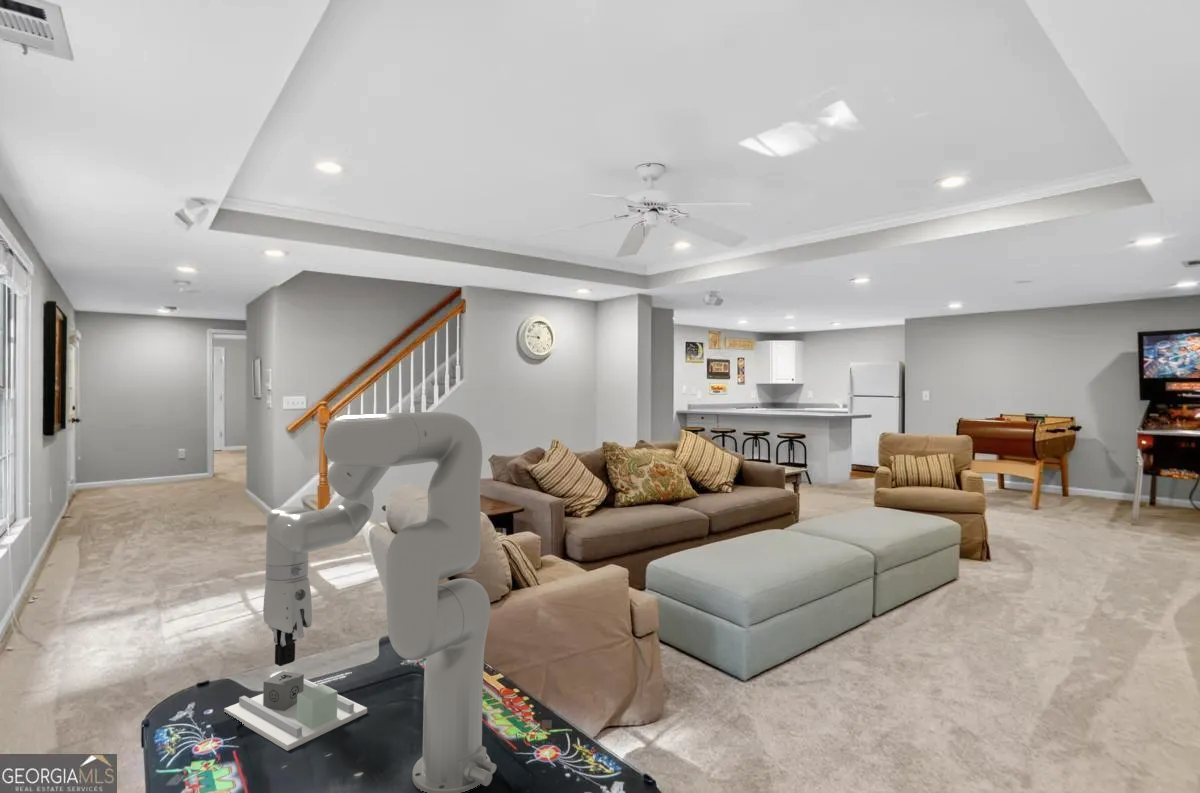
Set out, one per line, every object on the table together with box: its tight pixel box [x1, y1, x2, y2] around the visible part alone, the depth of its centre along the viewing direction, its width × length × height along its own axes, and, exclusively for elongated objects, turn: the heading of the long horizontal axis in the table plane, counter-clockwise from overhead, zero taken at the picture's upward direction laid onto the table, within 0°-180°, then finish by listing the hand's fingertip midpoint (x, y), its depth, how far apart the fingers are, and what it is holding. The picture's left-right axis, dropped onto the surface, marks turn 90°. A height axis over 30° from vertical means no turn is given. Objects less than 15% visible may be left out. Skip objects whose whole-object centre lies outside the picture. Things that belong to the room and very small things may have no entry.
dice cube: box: [262, 670, 305, 711], centre depth 123 cm, size 5×5×5 cm
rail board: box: [223, 678, 368, 752], centre depth 121 cm, size 22×16×6 cm
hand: (284, 662), depth 123 cm, fingers closed
